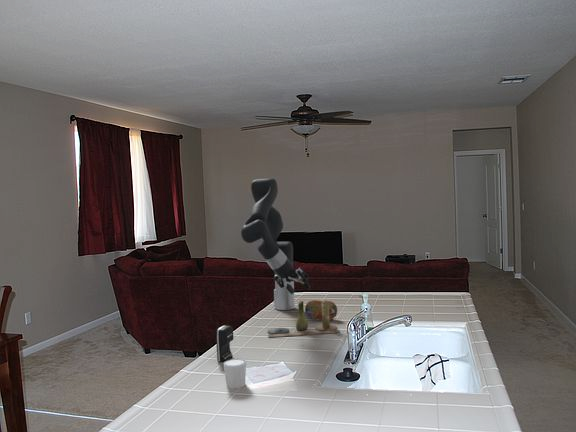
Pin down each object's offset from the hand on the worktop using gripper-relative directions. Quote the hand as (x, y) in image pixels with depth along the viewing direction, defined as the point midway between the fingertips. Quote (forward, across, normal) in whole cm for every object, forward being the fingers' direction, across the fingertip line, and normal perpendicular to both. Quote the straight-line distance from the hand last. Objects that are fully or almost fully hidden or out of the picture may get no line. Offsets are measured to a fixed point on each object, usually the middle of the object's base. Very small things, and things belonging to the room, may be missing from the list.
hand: (301, 290), depth 210 cm
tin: (+25, +10, -9) cm, 29 cm away
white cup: (-15, -12, +59) cm, 62 cm away
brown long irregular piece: (+14, +5, +8) cm, 17 cm away
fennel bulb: (+15, +7, +7) cm, 18 cm away
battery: (-10, +7, +43) cm, 45 cm away
